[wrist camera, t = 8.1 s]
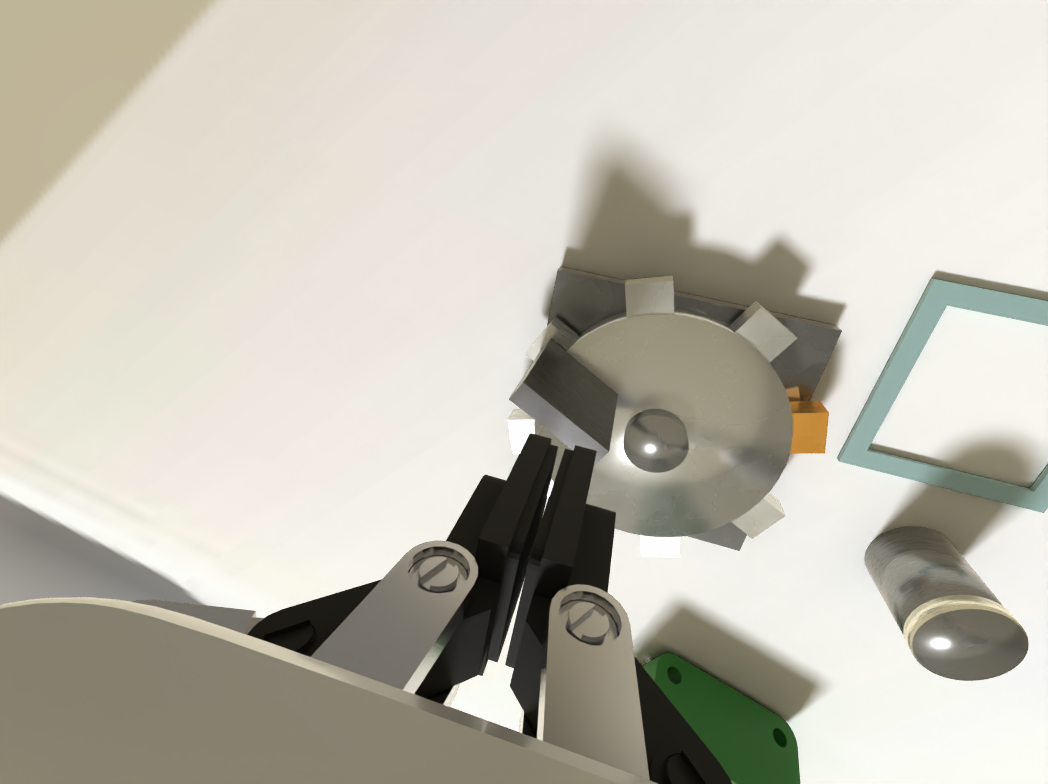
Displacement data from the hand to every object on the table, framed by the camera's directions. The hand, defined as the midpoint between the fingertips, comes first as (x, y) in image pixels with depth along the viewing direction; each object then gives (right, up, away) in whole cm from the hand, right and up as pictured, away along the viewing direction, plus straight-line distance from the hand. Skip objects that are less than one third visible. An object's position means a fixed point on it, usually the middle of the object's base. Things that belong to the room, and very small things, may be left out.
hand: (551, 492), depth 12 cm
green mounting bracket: (+12, -21, +25) cm, 35 cm away
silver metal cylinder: (+21, -7, +16) cm, 28 cm away
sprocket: (+7, +1, +15) cm, 17 cm away
